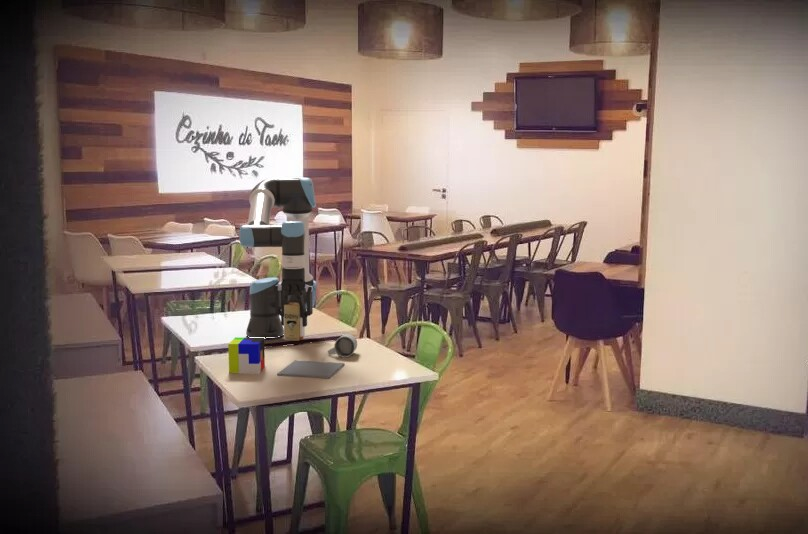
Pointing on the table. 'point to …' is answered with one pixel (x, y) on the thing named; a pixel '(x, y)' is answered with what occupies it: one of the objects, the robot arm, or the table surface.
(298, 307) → the shoe polish box
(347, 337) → the ceramic mug
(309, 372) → the mat
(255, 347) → the puzzle toy
